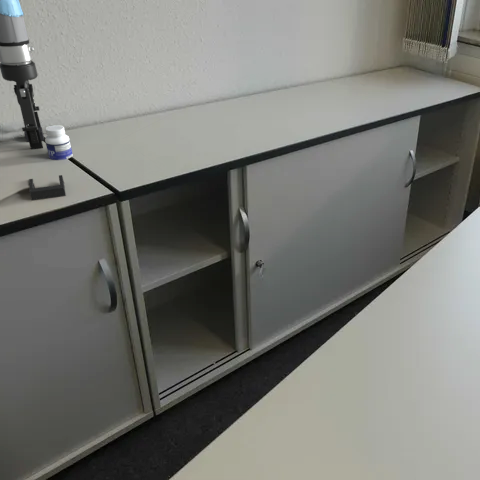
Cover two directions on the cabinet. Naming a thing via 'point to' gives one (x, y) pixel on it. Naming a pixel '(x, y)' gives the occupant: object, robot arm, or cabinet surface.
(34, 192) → the dark grey u-shaped piece
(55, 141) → the pill bottle
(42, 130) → the pad block
